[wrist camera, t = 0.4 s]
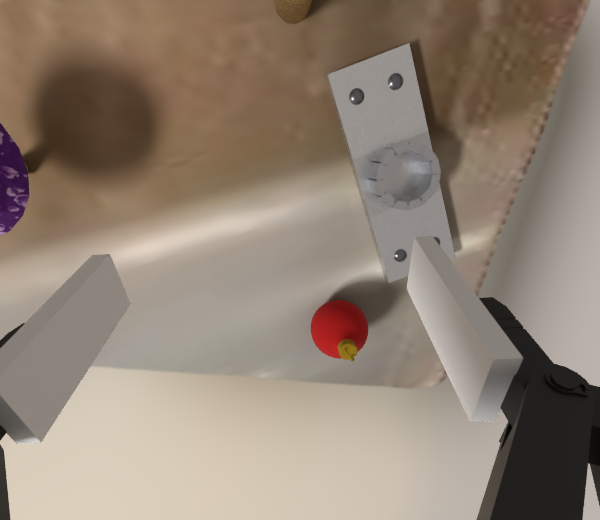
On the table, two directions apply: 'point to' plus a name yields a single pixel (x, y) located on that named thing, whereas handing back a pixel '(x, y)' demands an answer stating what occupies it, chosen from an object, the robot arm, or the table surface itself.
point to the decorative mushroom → (11, 183)
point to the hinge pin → (292, 10)
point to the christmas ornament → (339, 329)
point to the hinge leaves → (391, 156)
